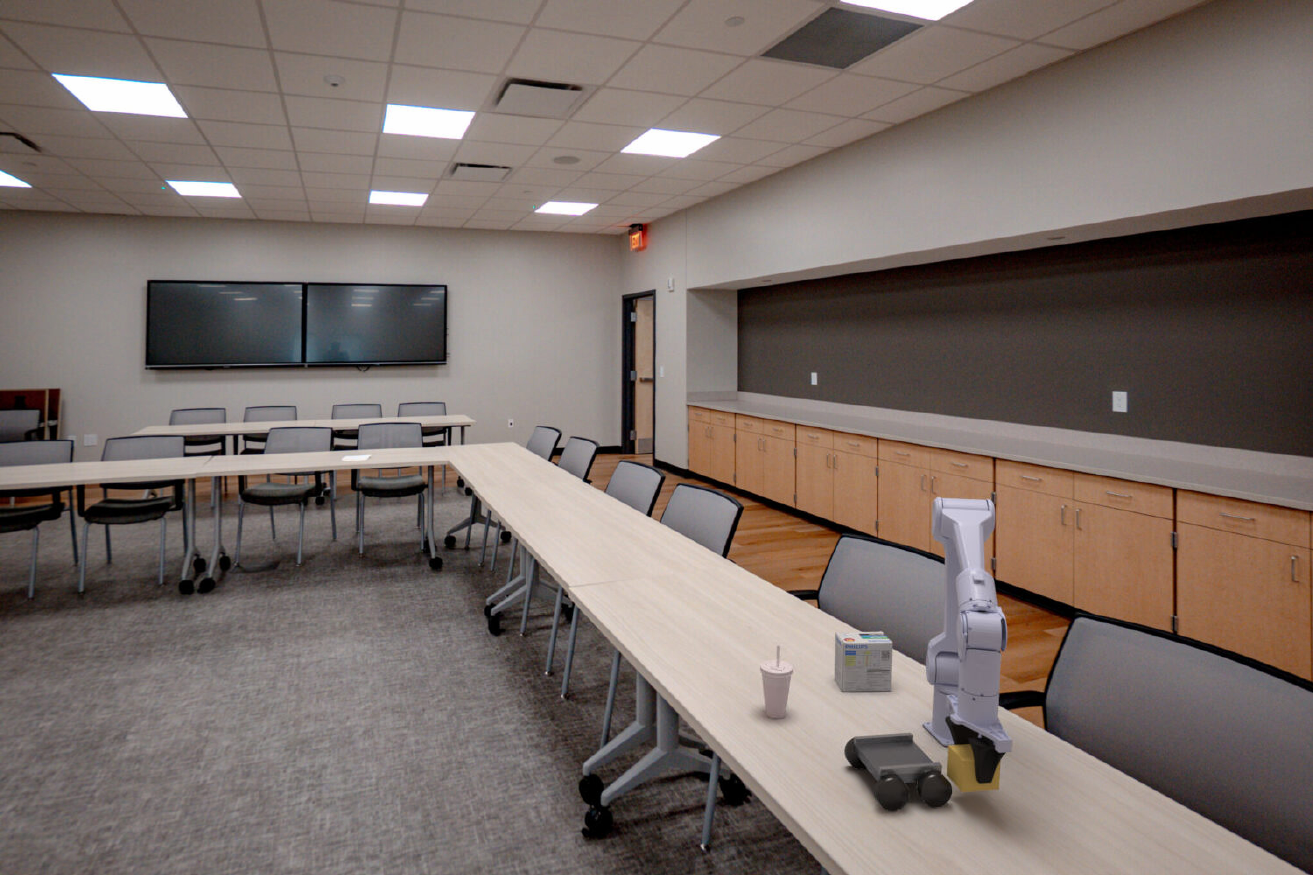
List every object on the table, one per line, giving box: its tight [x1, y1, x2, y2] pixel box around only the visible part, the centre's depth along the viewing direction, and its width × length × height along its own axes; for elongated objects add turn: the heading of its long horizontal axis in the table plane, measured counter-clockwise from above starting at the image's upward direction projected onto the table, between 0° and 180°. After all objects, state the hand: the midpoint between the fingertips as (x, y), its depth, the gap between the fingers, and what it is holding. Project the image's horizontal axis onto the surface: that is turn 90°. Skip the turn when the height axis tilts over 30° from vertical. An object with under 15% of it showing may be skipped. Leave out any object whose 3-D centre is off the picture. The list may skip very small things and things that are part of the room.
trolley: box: [843, 732, 953, 812], centre depth 117 cm, size 12×13×6 cm
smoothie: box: [759, 644, 794, 720], centre depth 141 cm, size 6×6×14 cm
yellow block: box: [946, 744, 1002, 793], centre depth 113 cm, size 6×4×5 cm
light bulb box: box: [834, 631, 893, 693], centre depth 154 cm, size 11×7×11 cm, turn 92°
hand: (974, 772), depth 113 cm, fingers closed on yellow block, 4 cm apart
